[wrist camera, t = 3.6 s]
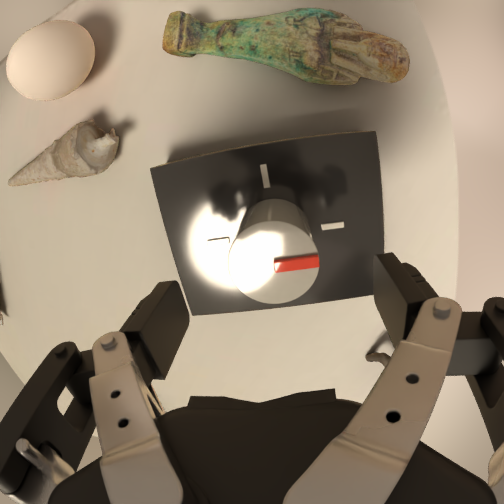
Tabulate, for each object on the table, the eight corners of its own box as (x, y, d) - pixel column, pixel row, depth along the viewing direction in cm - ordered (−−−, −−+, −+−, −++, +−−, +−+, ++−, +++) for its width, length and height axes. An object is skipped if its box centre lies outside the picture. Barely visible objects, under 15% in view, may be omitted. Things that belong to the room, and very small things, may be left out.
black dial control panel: (201, 295, 24) (191, 317, 21) (166, 162, 20) (148, 168, 17) (372, 273, 22) (384, 294, 19) (362, 130, 18) (377, 130, 15)
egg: (116, 83, 18) (48, 72, 10) (58, 112, 19) (-10, 118, 11) (108, 19, 15) (47, -8, 8) (51, 52, 16) (-12, 43, 9)
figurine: (194, -1, 15) (178, -22, 11) (400, 47, 15) (423, 34, 11) (175, 61, 17) (154, 49, 13) (387, 111, 17) (409, 109, 14)
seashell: (140, 154, 20) (109, 176, 16) (26, 199, 23) (-1, 220, 20) (123, 103, 18) (88, 115, 14) (12, 164, 21) (-17, 182, 17)
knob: (246, 269, 19) (236, 311, 15) (233, 204, 18) (217, 230, 13) (314, 260, 19) (323, 301, 14) (305, 193, 17) (315, 216, 13)
